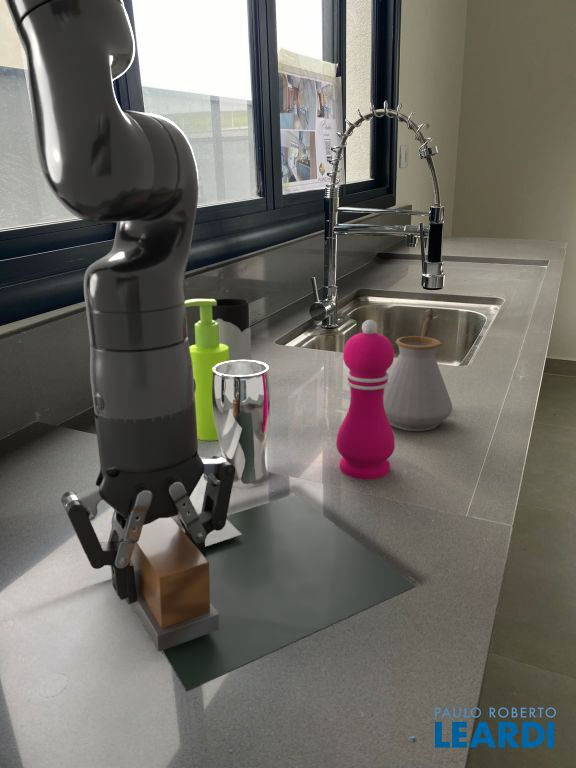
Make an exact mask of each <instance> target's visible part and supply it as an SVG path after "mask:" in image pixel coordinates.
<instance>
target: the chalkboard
mask: <svg viewBox="0 0 576 768" xmlns="http://www.w3.org/2000/svg"><path fill="white" fill-rule="evenodd" d="M226 521H228V523H230V524H231V525H232V526H233V528H235V529H236V530H237V532H238V533H240V534H238V535H236V536H233V537H230V538H227V539H226V538H225V539H223V540H221V541H217V542H215V543H212V544H209V545H205V552H206V559H207V560H208V562H209V581H210V603H211V604H212V606H213V607H214V608H215V610H216V611H217V612H218V614H219V630H217V631H214V632H211V633H209V634H206V635H203V636H200V637H198V638H195V639H192V640H189V641H187V642H184V643H181V644H179V645H176V646H173V647H170V648H168V649H165V650H162V651H161V652H162V653H163V655H164V656H165V658H166V660H167V662H168V663H169V665H170V667H171V669H172V670H173V672H174V675H176V677H177V679H178V680H179V682H180V685H181V686H182V687H183V689H184V691H185V692H190V691H191V690H194V689H195V688H198V687H200V686H203V685H204V684H206V683H209V682H211V681H214V680H215V679H217V678H219V677H222V676H224V675H226V674H228V673H230V672H233V671H235V670H237V669H240V668H241V667H244V666H246V665H248V664H250V663H253V662H254V661H257V660H260V659H261V658H263V657H265V656H267V655H269V654H272V653H274V652H276V651H279V650H280V649H283V648H285V647H287V646H289V645H291V644H294V643H296V642H298V641H300V640H302V639H305V638H307V637H310V636H311V635H314V634H315V633H318V632H320V631H323V630H325V629H327V628H329V627H331V626H333V625H335V624H337V623H341V622H342V621H344V620H347V619H348V618H351V617H353V616H355V615H357V614H359V613H362V612H365V611H366V610H368V609H370V608H372V607H374V606H377V605H379V604H381V603H384V602H385V601H387V600H390V599H392V598H395V597H397V596H399V595H401V594H404V593H405V592H408V591H410V590H411V589H414V588H416V585H415V584H414V583H413V582H411V581H410V580H409V579H407V578H406V577H404V576H403V575H402V574H401V573H399V572H398V571H397V570H396V569H394V568H392V566H391V565H389V564H387V562H385V561H384V560H383V559H381V558H380V557H379V556H377V555H376V554H374V553H373V552H372V551H370V549H368V548H367V547H365V546H364V545H362V544H361V543H360V542H359V541H357V540H356V539H355V538H353V536H351V535H350V534H349V533H347V532H346V531H344V530H343V529H342V528H340V527H339V526H338V525H337V524H336V523H334V522H333V521H331V519H329V518H328V517H326V516H325V515H324V514H322V513H321V512H320V511H318V510H317V509H316V508H314V507H313V506H312V505H310V504H309V503H308V502H306V501H305V500H304V499H303V498H302V497H300V496H298V495H297V494H295V493H294V494H291V495H288V496H285V497H282V498H278V499H275V500H272V501H269V502H266V503H262V504H260V505H256V506H252V507H250V508H247V509H244V510H240V511H237V512H234V513H231V514H227V519H226Z"/></svg>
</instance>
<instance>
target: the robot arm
mask: <svg viewBox="0 0 576 768" xmlns="http://www.w3.org/2000/svg"><path fill="white" fill-rule="evenodd" d="M4 2H5V4H6V6H7V7H6V8H7V10H8V12H9V14H10V17H11V20H12V22H13V26H14V28H15V31H16V33H17V35H18V39H19V41H20V43H21V46H22V48H23V51H24V54H25V57H26V58H25V59H26V66H27V76H28V89H29V96H30V97H29V98H30V102H31V114H32V122H33V132H34V140H35V141H34V142H35V148H36V155H37V161H38V163H39V166H40V170H41V173H42V175H43V178H44V180H45V183H46V184H47V186H48V187H49V189H50V191H51V192H52V194H53V196H55V198H56V199H57V200H58V202H59V203H60V204H61V205H62V206H63V207H64V208H65V209H66V211H68V212H69V213H70V214H72V215H73V216H75V217H76V218H78V219H79V220H82V221H85V222H89V223H95V224H112V223H116V229H115V235H114V241H113V245H112V248H111V249H110V251H109V252H108V253H107V254H106V255H104V256H103V257H101V258H99V259H97V260H96V261H94V262H93V263H91V264H89V266H88V267H87V269H86V270H85V273H84V277H83V295H84V297H83V298H84V304H85V311H86V312H85V313H86V320H87V328H88V338H89V339H88V340H89V353H90V354H89V355H90V356H89V380H90V388H91V389H90V390H91V397H92V405H93V414H94V424H95V431H96V440H97V448H98V457H99V467H100V469H99V473H98V475H97V478H96V480H95V484H94V485H93V486H91V487H88V488H86V489H84V490H82V491H80V492H78V493H77V492H76V491H74V490H73V491H72V490H69V491H65V492H64V493H63V494H62V495H61V498H60V501H61V504H62V506H63V508H64V510H65V513H66V515H67V517H68V519H69V521H70V523H71V526H72V528H73V531H74V532H75V534H76V537H77V540H78V541H79V543H80V546H81V548H82V550H83V553H85V555H86V558H87V560H88V562H89V565H90V566H91V568H92V569H95V570H100V569H102V568H104V566H110V571H111V579H112V587H113V589H114V591H115V593H116V595H117V597H118V598H119V599H120V601H123V600H125V602H126V604H127V605H132V603H135V602H136V601H137V593H136V584H135V574H134V565H133V563H132V562H131V556H132V553H133V549H134V545H135V543H136V542H138V541H139V538H140V534H141V531H142V527H143V525H145V524H149V523H151V522H153V521H155V520H157V519H159V518H170V517H172V518H173V517H176V518H177V520H178V521H179V523H180V526H181V527H182V529H183V531H184V533H185V534H186V535H187V536H188V538H189V539H190V540H191V541H192V542H193V544H194V545H195V546H196V547H197V548H198V550H199V551H200V552H201V553H202V554H203V556H204V557H205V558H206V552H205V547H206V539H207V536H208V535H209V534H210V533H213V531H222V530H223V529H224V528H225V526H226V524H227V515H228V512H229V508H230V502H231V497H232V491H233V488H232V487H233V481H234V476H235V467H234V466H233V465H232V464H231V463H230V462H229V461H227V460H226V459H225V458H224V457H223V456H222V455H221V454H219V453H217V454H214V455H212V456H211V458H201V457H200V454H199V452H198V448H199V439H198V438H197V422H196V405H195V389H196V383H195V379H194V372H193V364H192V358H191V354H190V349H189V346H190V343H189V335H188V334H189V333H188V332H189V331H188V319H187V307H186V302H185V301H186V300H187V299H186V291H185V290H186V289H185V277H186V272H187V267H188V263H189V258H190V255H191V248H192V241H193V236H194V229H195V223H196V216H197V210H198V200H199V174H198V172H199V171H198V166H197V162H196V158H195V154H194V151H193V149H192V146H191V144H190V141H189V140H188V138H187V136H186V135H185V133H184V132H183V130H182V129H181V128H179V126H178V125H176V123H174V122H173V121H171V120H170V119H168V118H166V117H163V116H162V115H158V114H154V113H148V112H140V111H135V110H127V109H121V106H120V104H119V103H118V100H117V98H116V94H115V90H114V83H113V81H114V80H116V79H118V78H120V77H121V76H122V75H124V74H125V73H126V72H127V71H128V69H129V68H130V67H131V65H132V63H133V61H134V59H135V54H136V44H135V43H136V42H135V37H134V33H133V29H132V26H131V22H130V19H129V15H128V13H127V10H126V8H125V4H124V1H123V0H4ZM202 478H203V480H204V481H205V482H206V483H205V489H204V494H203V495H204V496H203V501H202V507H201V513H200V514H199V513H198V512H197V510H196V508H195V506H194V504H193V502H192V500H191V499H190V498H191V496H192V495H193V493H194V490H195V489H196V487H197V485H198V484H199V482H200V480H201V479H202ZM102 500H103V501H104V502H105V503H106V504H107V505H109V506H110V507H111V508H112V509H113V513H112V517H111V521H110V522H111V529H110V534H109V537H108V541H107V542H104V541H103V542H101V541H100V540H99V538H98V535H97V533H96V531H95V528H94V526H93V524H92V522H91V521H93V520H95V518H96V517H97V515H98V505H99V504H100V502H101V501H102Z"/></svg>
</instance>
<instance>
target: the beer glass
mask: <svg viewBox="0 0 576 768" xmlns="http://www.w3.org/2000/svg"><path fill="white" fill-rule="evenodd" d="M212 371H213V377H212V408H213V417H214V422H215V427H216V432H217V436H218V440H217V441H218V444H219V449H220V453H221V454H220V455H222V456H223V457H224V458H225V459H226V460H227V461H229V462H230V463H231V464H232V465H233V466H234V467H235V476H234V481H233V487H232V489H239V490H247V489H253V488H257V487H260V486H262V485H263V484H265V483H266V482H267V481H268V479H269V474H268V470H267V465H266V449H267V443H268V438H269V431H270V425H271V417H272V387H271V378H270V367H269V365H268V364H266V363H265V362H262V361H259V360H252V359H251V360H234V361H227V362H223V363H220V364H217V365H215V366H214V367H213V369H212Z"/></svg>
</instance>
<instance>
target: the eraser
mask: <svg viewBox="0 0 576 768" xmlns="http://www.w3.org/2000/svg"><path fill="white" fill-rule="evenodd" d="M131 562H132V563H133V565H134V574H135V584H136V593H137V601H136V602H135V603H132V604H131V606H132V608H133V609H134V611H135V613H136V615H137V616H138V618H139V620H140V622H141V624H142V625H143V627H144V629H145V631H146V632H147V634H148V636H149V638H150V639H151V641H152V643H153V644H154V647H155V649H156V650H157V652H163V651H162V650H165V649H168V648H170V647H173V646H176V645H179V644H181V643H184V642H187V641H189V640H192V639H195V638H198V637H200V636H203V635H206V634H209V633H211V632H214V631H217V630H219V614H218V612H217V611H216V610H215V608H214V607H213V606H212V604H211V603H210V581H209V562H208V560H207V559H206V558H205V557H204V556H203V554H202V553H201V552H200V551H199V550H198V548H197V547H196V546H195V545H194V544H193V542H192V541H191V540H190V539H189V538H188V536H187V535H186V534H185V531H184V529H183V528H181V526H180V525H179V524H178V523H177V522H176V521H175V519H174V518H173V517H170V518H159V519H157V520H155V521H153V522H151V523H149V524H145V525H143V527H142V531H141V534H140V538H139V541H138V542H136V543H135V545H134V549H133V553H132V556H131Z"/></svg>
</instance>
